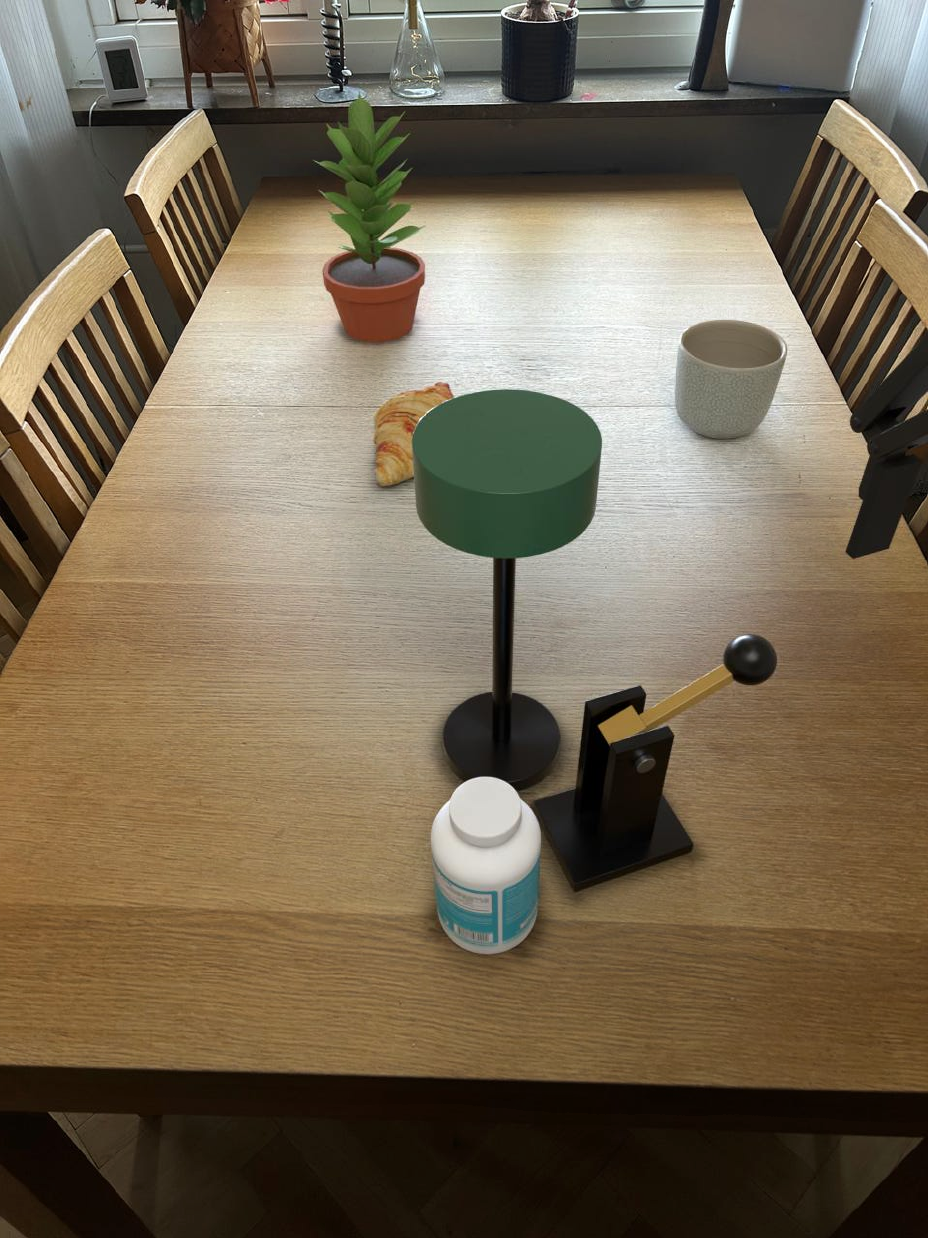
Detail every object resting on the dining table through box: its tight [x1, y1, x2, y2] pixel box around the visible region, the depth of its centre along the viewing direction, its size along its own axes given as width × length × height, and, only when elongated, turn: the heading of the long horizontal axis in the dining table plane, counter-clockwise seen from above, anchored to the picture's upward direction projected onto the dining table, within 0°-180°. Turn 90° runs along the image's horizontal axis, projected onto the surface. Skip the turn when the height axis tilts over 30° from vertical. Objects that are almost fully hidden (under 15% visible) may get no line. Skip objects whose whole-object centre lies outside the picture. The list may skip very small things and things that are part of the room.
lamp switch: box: [598, 633, 778, 745], centre depth 65 cm, size 13×4×4 cm, turn 110°
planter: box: [674, 319, 788, 440], centre depth 113 cm, size 12×12×11 cm
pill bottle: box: [430, 777, 542, 955], centre depth 64 cm, size 8×7×14 cm
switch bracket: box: [532, 684, 695, 893], centre depth 69 cm, size 10×8×14 cm
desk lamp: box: [412, 388, 603, 793], centre depth 69 cm, size 12×12×31 cm
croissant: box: [373, 381, 455, 487], centre depth 112 cm, size 21×10×8 cm, turn 162°
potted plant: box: [312, 91, 427, 343], centre depth 126 cm, size 15×15×30 cm
